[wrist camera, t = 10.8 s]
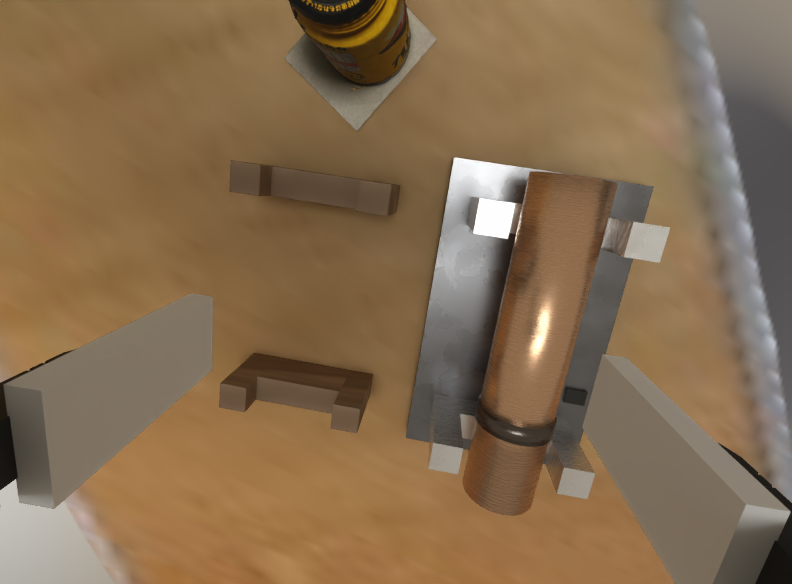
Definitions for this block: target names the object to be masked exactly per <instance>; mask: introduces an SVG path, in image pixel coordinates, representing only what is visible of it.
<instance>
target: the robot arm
mask: <svg viewBox="0 0 792 584" xmlns="http://www.w3.org/2000/svg"><path fill="white" fill-rule="evenodd" d="M212 339H213V297H212V296H205V295H199V294H192V293H191V294H189V295H187V296H185V297H183V298H181V299H179V300H177V301H175V302H172V303H170V304H168V305H166V306H164V307H162V308H160V309H158V310H156V311H154V312H152V313H150V314H148V315H146V316H144V317H142V318H140V319H137V320H135V321H133V322H131V323H129V324H127V325H125V326H123V327H121V328H119V329H117V330H115V331H113V332H111V333H109V334H107V335H104V336H102V337H100V338H98V339H96V340H94V341H92V342H90V343H88V344H86V345H84V346H82V347H80V348H78V349H75V350H71V351H68V352H64V353H62V354H60V355H58V356H56V357H53V358H51V359H49V360H47V361H45V364H44V363H41V364H39V365H37V366H35V367H33V368H30V370H29V371H24V372H22V373H20V374H18V375H16V376H14V377H12V378H10V379H7V380H5V381H3V382H1V383H0V490H1V489H2V488H4V487H5V486H7V485H8V484H9V483H11V482H12V481H14V480H15V479H16V481H17V489H18V496H19V502H20V503H24V504H30V505H35V506H41V507H47V508H53V509H55V508H56V507H57V506H58V505H59V504H60V503H61V502H63V501H64V500H65V499H66V498H67V497H68V496H69V495H70V494H72V493H73V492H74V491H75V490H76V489H77V488H78V487H80V486H81V485H82V484H83V483H84V482H85V481H86V480H88V479H89V478H90V477H91V476H92V475H93V474H94V473H96V472H97V471H98V470H99V469H100V468H101V467H102V466H103V465H105V464H106V463H107V462H108V461H109V460H110V459H111V458H113V457H114V456H115V455H116V454H117V453H118V452H119V451H121V450H122V449H123V448H124V447H125V446H126V445H127V444H129V443H130V442H131V441H132V440H133V439H134V438H135V437H136V436H138V435H139V434H140V433H141V432H142V431H143V430H144V429H146V428H147V427H148V426H149V425H150V424H151V423H152V422H154V421H155V420H156V419H157V418H158V417H159V416H160V415H162V414H163V413H164V412H165V411H166V410H167V409H168V408H169V407H171V406H172V405H173V404H174V403H175V402H176V401H177V400H179V399H180V398H181V397H182V396H183V395H184V394H185V393H187V392H188V391H189V390H190V389H191V388H192V387H193V386H195V385H196V384H197V383H198V382H199V381H200V380H201V379H202V378H204V377H205V376H206V375H207V374H208V373H209V372H210V371H212ZM582 428H583V430H584V432H585V433H586V435H587V437H588V438H589V440H590V442H591V443H592V445H593V447H594V448H595V450H596V452H597V453H598V455H599V457H600V459H601V460H602V462H603V464H604V465H605V467H606V469H607V470H608V472H609V474H610V475H611V477H612V479H613V480H614V482H615V484H616V485H617V487H618V489H619V490H620V492H621V494H622V496H623V497H624V499H625V501H626V502H627V504H628V506H629V507H630V509H631V511H632V512H633V514H634V516H635V517H636V519H637V521H638V522H639V524H640V526H641V527H642V529H643V531H644V532H645V534H646V536H647V538H648V539H649V541H650V543H651V544H652V546H653V548H654V549H655V551H656V553H657V554H658V556H659V558H660V559H661V561H662V563H663V564H664V566H665V568H666V569H667V571H668V573H669V575H670V576H671V578H672V580H673V581H674V583H675V584H792V503H791V502H790V501H789V500H788V499H787V498H786V497H784V496H783V495H782V494H781V493H780V492H779V491H778V490H777V489H776V488H772V485H771V484H770V483H769V482H768V481H767V480H766V479H765V478H764V477H762V476H761V475H758V472H757V471H756V470H755V469H754V468H753V467H751V466H750V465H749V464H748V463H747V462H746V461H745V460H744V459H743V458H742V457H740V456H739V455H737V454H735V453H734V452H732V451H731V450H729V449H727V448H726V447H724V446H723V445H721V444H720V443H717V442H716V441H715V440H714V439H713V438H712V437H711V436H709V435H708V434H707V433H706V432H705V431H704V430H703V429H702V428H701V427H700V426H699V425H698V424H697V423H696V422H695V421H693V420H692V419H691V418H690V417H689V416H688V415H687V414H686V413H685V412H684V411H683V410H682V409H681V408H680V407H678V406H677V405H676V404H675V403H674V402H673V401H672V400H671V399H670V398H669V397H668V396H667V395H666V394H665V393H664V392H662V391H661V390H660V389H659V388H658V387H657V386H656V385H655V384H654V383H653V382H652V381H651V380H650V379H649V378H648V377H646V376H645V375H644V374H643V373H642V372H641V371H640V370H639V369H638V368H637V367H636V366H635V365H634V364H633V363H631V362H630V361H629V360H628V359H627V358H625V357H618V356H611V355H604V354H603V355H602V358H601V362H600V365H599V369H598V373H597V376H596V380H595V383H594V387H593V391H592V394H591V398H590V401H589V405H588V408H587V412H586V416H585V419H584V423H583V426H582Z"/></svg>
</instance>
